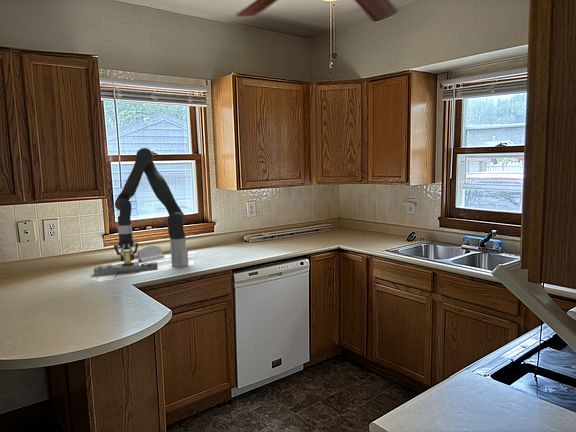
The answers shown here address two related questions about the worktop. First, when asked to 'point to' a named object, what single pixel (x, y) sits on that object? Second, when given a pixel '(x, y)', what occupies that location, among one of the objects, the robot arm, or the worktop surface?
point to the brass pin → (127, 258)
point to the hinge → (150, 253)
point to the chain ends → (123, 268)
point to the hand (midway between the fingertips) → (127, 260)
